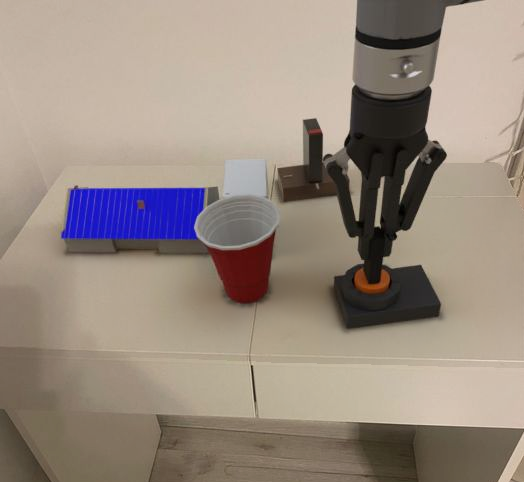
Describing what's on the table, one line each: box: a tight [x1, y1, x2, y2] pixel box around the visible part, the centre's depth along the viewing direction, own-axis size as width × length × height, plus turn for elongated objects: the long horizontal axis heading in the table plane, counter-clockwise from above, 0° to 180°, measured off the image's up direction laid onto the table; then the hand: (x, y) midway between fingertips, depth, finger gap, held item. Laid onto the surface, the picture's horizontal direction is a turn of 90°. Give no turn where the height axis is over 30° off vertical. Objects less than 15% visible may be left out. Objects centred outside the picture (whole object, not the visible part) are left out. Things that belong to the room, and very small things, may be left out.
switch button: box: [354, 268, 390, 294], centre depth 71 cm, size 4×4×2 cm
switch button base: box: [333, 262, 442, 329], centre depth 72 cm, size 12×8×4 cm, turn 97°
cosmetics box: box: [221, 157, 270, 200], centre depth 81 cm, size 10×6×10 cm, turn 0°
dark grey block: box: [302, 117, 324, 183], centre depth 89 cm, size 6×2×8 cm, turn 7°
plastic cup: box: [194, 194, 281, 304], centre depth 72 cm, size 11×11×12 cm
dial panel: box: [276, 162, 351, 202], centre depth 92 cm, size 11×10×3 cm
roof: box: [60, 185, 221, 254], centre depth 86 cm, size 22×14×7 cm, turn 84°
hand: (371, 276), depth 70 cm, fingers closed
